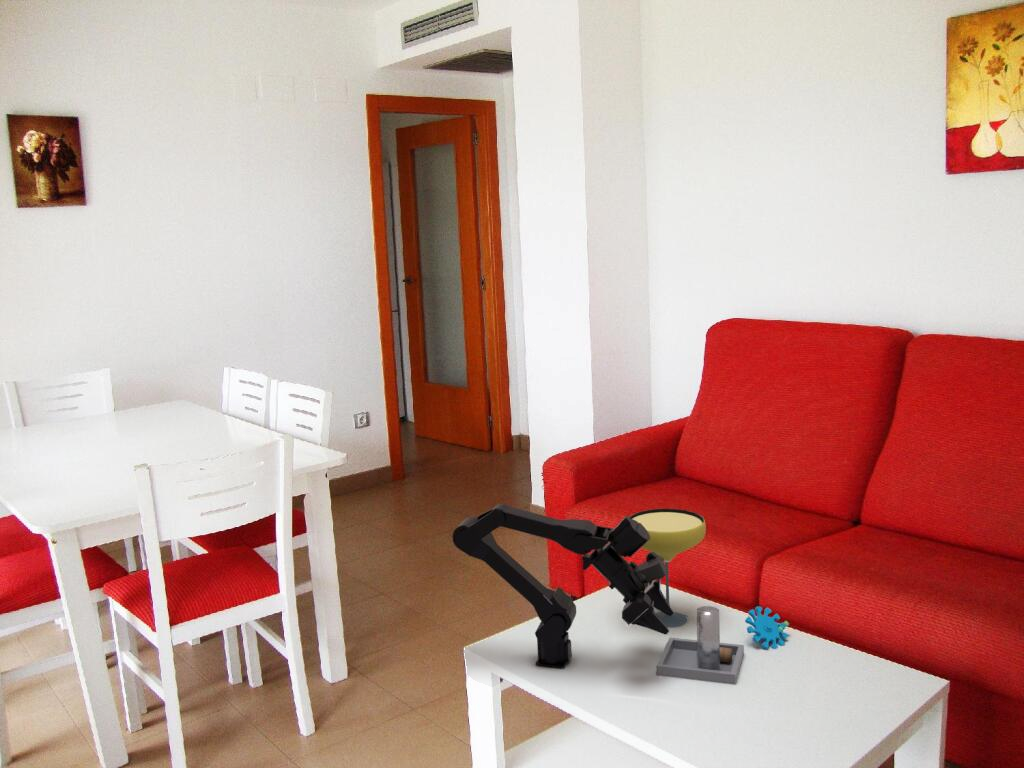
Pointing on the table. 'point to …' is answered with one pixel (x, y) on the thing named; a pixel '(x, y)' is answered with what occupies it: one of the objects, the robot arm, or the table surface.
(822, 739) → the table surface
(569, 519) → the robot arm
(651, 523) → the cocktail glass
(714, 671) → the tray
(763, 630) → the gear
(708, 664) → the sleeve
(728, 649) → the rod
